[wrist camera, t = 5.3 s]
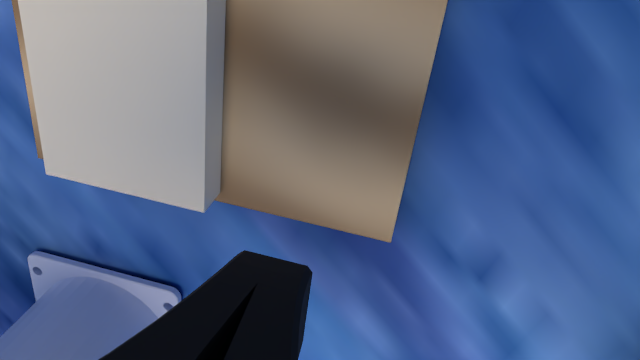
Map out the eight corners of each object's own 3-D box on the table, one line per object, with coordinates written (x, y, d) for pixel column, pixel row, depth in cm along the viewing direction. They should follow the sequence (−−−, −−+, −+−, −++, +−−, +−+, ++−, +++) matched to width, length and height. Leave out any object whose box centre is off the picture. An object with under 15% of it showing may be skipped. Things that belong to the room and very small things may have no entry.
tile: (204, 212, 20) (45, 174, 21) (221, 191, 21) (71, 155, 22) (207, -13, 16) (9, -49, 17) (227, -22, 17) (44, -54, 18)
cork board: (393, 228, 21) (390, 242, 20) (53, 147, 23) (38, 157, 23) (474, -116, 15) (474, -115, 14) (4, -183, 17) (-20, -186, 16)
